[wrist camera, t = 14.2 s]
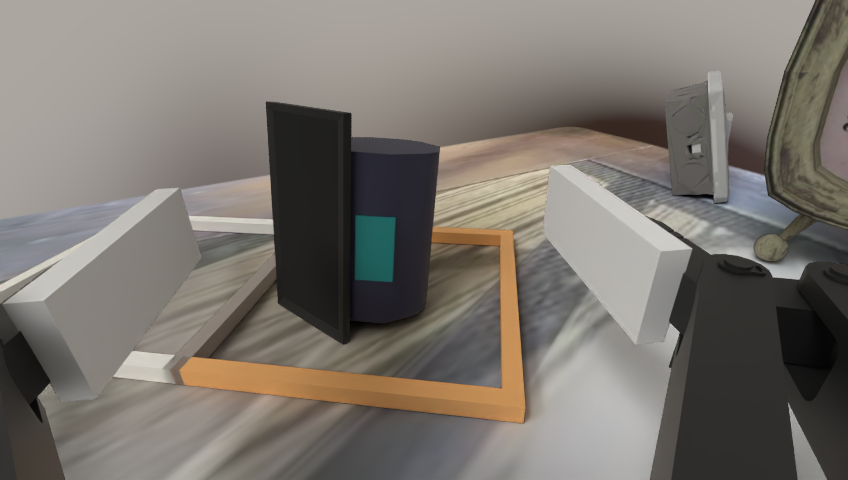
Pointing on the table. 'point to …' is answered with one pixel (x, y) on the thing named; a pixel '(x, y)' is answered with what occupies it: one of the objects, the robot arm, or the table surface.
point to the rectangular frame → (323, 384)
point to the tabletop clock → (811, 130)
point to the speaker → (348, 219)
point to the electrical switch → (699, 139)
